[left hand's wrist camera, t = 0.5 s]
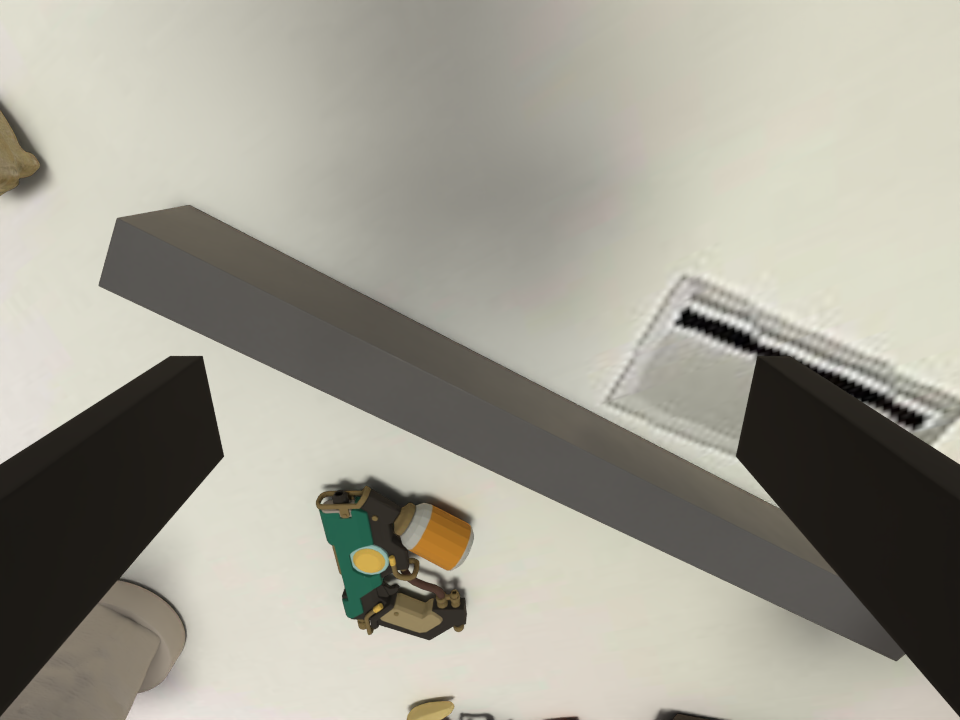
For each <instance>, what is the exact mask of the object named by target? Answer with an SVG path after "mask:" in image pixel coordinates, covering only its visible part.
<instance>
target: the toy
mask: <svg viewBox="0 0 960 720" xmlns="http://www.w3.org/2000/svg"><path fill="white" fill-rule="evenodd" d="M673 720H709V719H703V718H698V717H693V716H687V715H682V714H677V715H676V716H675V717H674V719H673Z"/></svg>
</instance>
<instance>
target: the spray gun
mask: <svg viewBox="0 0 960 720" xmlns="http://www.w3.org/2000/svg"><path fill="white" fill-rule="evenodd" d="M361 495H362V496H361ZM328 496H332V500H328V501H326V502H324V503H323V504H320V503H321V501H322V500H323V498H325V497H328ZM354 496H361V497H357V498H356V500H355V499H354ZM316 506H317V508H318V509H319V511H320V515H321V519H322V523H323V527H324V531H325V534H326V538H327V541H328V543H329V544H331V545H332V547H333V551H334V554H335V558H336V562H337V566H338V569H339V573H340V574H341V575H342V578H343V582H344V586H345V589H344V592H343V595H342V601H343V605H344V609H345V612H346V615H347V617H348V618H351V619H357V620H358V621H357V622H358V626H359V628H360V629H362V630H364V629H367V633H368V635H371V634H372V633H373V630H374V629H376V628H378V627H379V625H381V626H384V627H388V628H391V629H394V630H397V631H401V632H404V633H407V634H411V635H414V636H417V637H420V638H424V639H427V640H431V639H433V638H434V637H436V636H438V635H440V634H441V633H443V632H445V631H446V630H448V629H450V628H451V627H454V630H455V631H456V632H461V631H462V630H463V629H464V624H466V617H467V611H466V603H465V598H460V594H459V592H458V591H457V590H452V591H451V593H450V594H446V593H445V592H444V591H443V590H442V589H441V588H440V587H439V586H437V585H435V584H431V583H428V582H425V581H422V580H420V579H418V578H416V576H417V574H418V571H419V561H418V560H417V559H415V558H409V556H408V551H407V549H408V550H409V551H411V552H413V553H415V554H417V555H419V556H421V557H423V558H424V559H426V560H428V561H430V562H432V563H434V564H436V565H438V566H440V567H442V568H443V569H445V570H453V569H455V568H457V567H459V566H460V565H461V564H462V563H463V562H464V560H465V559H466V558H467V556H468V554H469V552H470V549H471V546H472V543H473V540H474V534H473V530H472V527H471V526H470V525H469V524H468V523H467V522H465V521H463V520H461V519H459V518H457V517H455V516H453V515H451V514H449V513H447V512H445V511H443V510H441V509H439V508H437V507H435V506H433V505H431V504H427V503H422V504H419V505H416V506H415V505H414V504H412V503H408V504H407V505H405V506H404V507H402V508H401V507H400V506H399V505H398V504H396V503H394V502H393V501H391V500H389V499H388V498H386V497H384V496H383V495H381V494H379V493H378V492H376V491H374V490H373V489H371V488H370V487H368V486H365V487H364V489H363V490H362V491H343V490H338V491H327V492H323V493H321V494H320V495H319V496H318V498H317V500H316ZM393 522H394V531H393V527H392V523H393ZM394 532H395V534H397V535H399V536H400V537H401V539H400V538H399V537H398V536H396V535H395V534H394ZM409 564H414V570H413V573H412V574H411V573H410V572H409V570H408V568H409ZM397 570H400V571H401V573H402V574H400V573H399V572H398V571H397ZM391 573H393V575H394V576H395V577H396V578H397V579H399V580H404V581H408V582H409V583H411V584H412V585H414V586H416V587H418V588H421V589H423V590H427V591H430V592H433V593H435V594H436V598H431V599H430V600H428V601H427V602H422V601H420V600H417V599H415V598H412V597H410V596H407V595H405V594H402V593H397V592H398V589H399V586H398V585H395V586H390V585H388V584H387V583H385V582H384V581H383V578H384V577H385V576H387V575H389V574H391ZM370 622H371V626H370Z"/></svg>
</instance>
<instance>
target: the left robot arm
mask: <svg viewBox="0 0 960 720" xmlns="http://www.w3.org/2000/svg"><path fill="white" fill-rule="evenodd" d="M223 457H224V454H223V449H222V445H221V440H220V435H219V431H218V426H217V421H216V416H215V412H214V407H213V402H212V398H211V393H210V388H209V384H208V379H207V374H206V370H205V365H204V360H203V356H170V357H168V358H166V359H165V360H163V361H162V362H160V363H159V364H157V365H155V366H154V367H152V368H151V369H149V370H148V371H146V372H145V373H143V374H141V375H140V376H138V377H137V378H135V379H134V380H132V381H130V382H129V383H127V384H126V385H124V386H123V387H121V388H119V389H118V390H116V391H115V392H113V393H112V394H110V395H108V396H107V397H105V398H104V399H102V400H101V401H99V402H98V403H96V404H94V405H93V406H91V407H90V408H88V409H87V410H85V411H83V412H82V413H80V414H79V415H77V416H76V417H74V418H72V419H71V420H69V421H68V422H66V423H65V424H63V425H61V426H60V427H58V428H57V429H55V430H54V431H52V432H51V433H49V434H47V435H46V436H44V437H43V438H41V439H40V440H38V441H36V442H35V443H33V444H32V445H30V446H29V447H27V448H25V449H24V450H22V451H21V452H19V453H18V454H16V455H14V456H13V457H11V458H10V459H8V460H7V461H5V462H3V463H2V464H0V717H1V716H2V714H3V713H4V712H5V711H6V710H7V709H8V707H9V706H10V705H11V704H12V703H13V702H14V700H15V699H16V698H17V697H18V696H19V695H20V693H21V692H22V691H23V690H24V689H25V688H26V686H27V685H28V684H29V683H30V682H31V681H32V679H33V678H34V677H35V676H36V675H37V674H38V672H39V671H40V670H41V669H42V668H43V667H44V665H45V664H46V663H47V662H48V661H49V660H50V658H51V657H52V656H53V655H54V654H55V653H56V651H57V650H58V649H59V648H60V647H61V646H62V645H63V643H64V642H65V641H66V640H67V639H68V638H69V636H70V635H71V634H72V633H73V632H74V631H75V629H76V628H77V627H78V626H79V625H80V624H81V622H82V621H83V620H84V619H85V618H86V617H87V615H88V614H89V613H90V612H91V611H92V610H93V608H94V607H95V606H96V605H97V604H98V603H99V601H100V600H101V599H102V598H103V597H104V596H105V594H106V593H107V592H108V591H109V590H110V589H111V587H112V586H113V585H114V584H115V583H116V582H117V580H118V579H119V578H120V577H121V576H122V575H123V573H124V572H125V571H126V570H127V569H128V568H129V567H130V565H131V564H132V563H133V562H134V561H135V560H136V558H137V557H138V556H139V555H140V554H141V553H142V551H143V550H144V549H145V548H146V547H147V546H148V544H149V543H150V542H151V541H152V540H153V539H154V537H155V536H156V535H157V534H158V533H159V532H160V530H161V529H162V528H163V527H164V526H165V525H166V523H167V522H168V521H169V520H170V519H171V518H172V516H173V515H174V514H175V513H176V512H177V511H178V509H179V508H180V507H181V506H182V505H183V504H184V502H185V501H186V500H187V499H188V498H189V497H190V495H191V494H192V493H193V492H194V491H195V490H196V488H197V487H198V486H199V485H200V484H201V483H202V482H203V480H204V479H205V478H206V477H207V476H208V475H209V473H210V472H211V471H212V470H213V469H214V468H215V466H216V465H217V464H218V463H219V462H220V461H221V459H222V458H223ZM736 457H737V458H738V459H739V461H740V462H741V463H742V464H743V465H744V466H745V468H746V469H747V470H748V471H749V472H750V473H751V475H752V476H753V477H754V478H755V479H756V480H757V482H758V483H759V484H760V485H761V486H762V487H763V488H764V490H765V491H766V492H767V493H768V494H769V495H770V497H771V498H772V499H773V500H774V501H775V502H776V504H777V505H778V506H779V507H780V508H781V509H782V511H783V512H784V513H785V514H786V515H787V516H788V518H789V519H790V520H791V521H792V522H793V523H794V525H795V526H796V527H797V528H798V529H799V530H800V532H801V533H802V534H803V535H804V536H805V537H806V539H807V540H808V541H809V542H810V543H811V544H812V546H813V547H814V548H815V549H816V550H817V551H818V553H819V554H820V555H821V556H822V557H823V558H824V560H825V561H826V562H827V563H828V564H829V565H830V567H831V568H832V569H833V570H834V571H835V572H836V573H837V575H838V576H839V577H840V578H841V579H842V580H843V582H844V583H845V584H846V585H847V586H848V587H849V589H850V590H851V591H852V592H853V593H854V594H855V596H856V597H857V598H858V599H859V600H860V601H861V603H862V604H863V605H864V606H865V607H866V608H867V610H868V611H869V612H870V613H871V614H872V615H873V617H874V618H875V619H876V620H877V621H878V622H879V624H880V625H881V626H882V627H883V628H884V629H885V631H886V632H887V633H888V634H889V635H890V636H891V638H892V639H893V640H894V641H895V642H896V643H897V645H898V646H899V647H900V648H901V649H902V650H903V651H904V653H905V654H906V655H907V656H908V657H909V658H910V660H911V661H912V662H913V663H914V664H915V665H916V667H917V668H918V669H919V670H920V671H921V672H922V674H923V675H924V676H925V677H926V678H927V679H928V681H929V682H930V683H931V684H932V685H933V686H934V688H935V689H936V690H937V691H938V692H939V693H940V695H941V696H942V697H943V698H944V699H945V700H946V702H947V703H948V704H949V705H950V706H951V707H952V709H953V710H954V711H955V712H956V713H957V714H958V716H959V717H960V464H958V463H957V462H955V461H953V460H952V459H950V458H949V457H947V456H946V455H944V454H942V453H941V452H939V451H938V450H936V449H935V448H933V447H931V446H930V445H928V444H927V443H925V442H924V441H922V440H920V439H919V438H917V437H916V436H914V435H913V434H911V433H909V432H908V431H906V430H905V429H903V428H902V427H900V426H899V425H897V424H895V423H894V422H892V421H891V420H889V419H888V418H886V417H884V416H883V415H881V414H880V413H878V412H877V411H875V410H873V409H872V408H870V407H869V406H867V405H866V404H864V403H862V402H861V401H859V400H858V399H856V398H855V397H853V396H852V395H850V394H848V393H847V392H845V391H844V390H842V389H841V388H839V387H837V386H836V385H834V384H833V383H831V382H830V381H828V380H826V379H825V378H823V377H822V376H820V375H819V374H817V373H815V372H814V371H812V370H811V369H809V368H808V367H806V366H805V365H803V364H801V363H800V362H798V361H797V360H795V359H794V358H792V357H790V356H757V360H756V365H755V370H754V374H753V379H752V384H751V388H750V393H749V398H748V402H747V407H746V412H745V416H744V421H743V426H742V430H741V435H740V440H739V445H738V449H737V454H736Z"/></svg>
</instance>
